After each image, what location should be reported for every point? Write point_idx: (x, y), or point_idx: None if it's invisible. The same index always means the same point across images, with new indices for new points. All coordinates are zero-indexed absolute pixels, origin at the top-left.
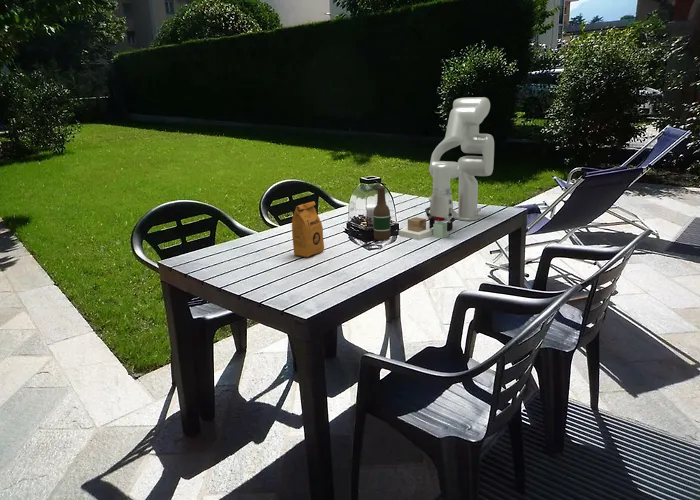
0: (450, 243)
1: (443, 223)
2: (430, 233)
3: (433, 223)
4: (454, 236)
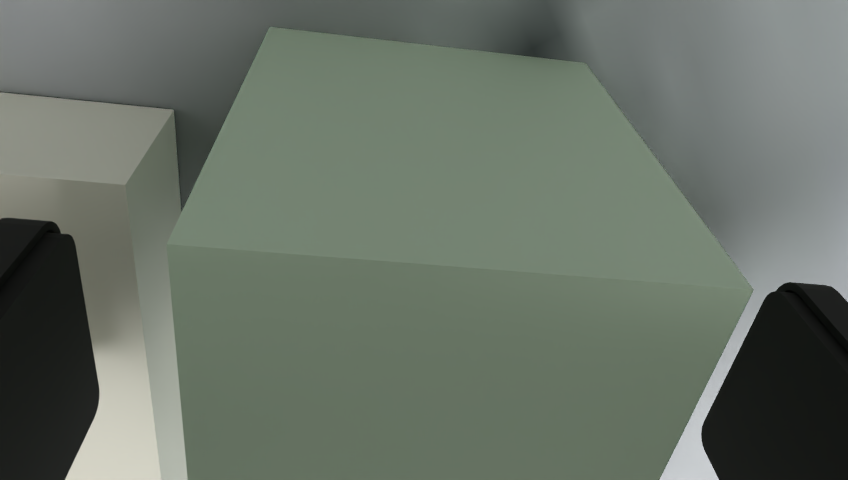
0: None
1: (511, 409)
2: (170, 328)
3: (18, 395)
4: (753, 33)
